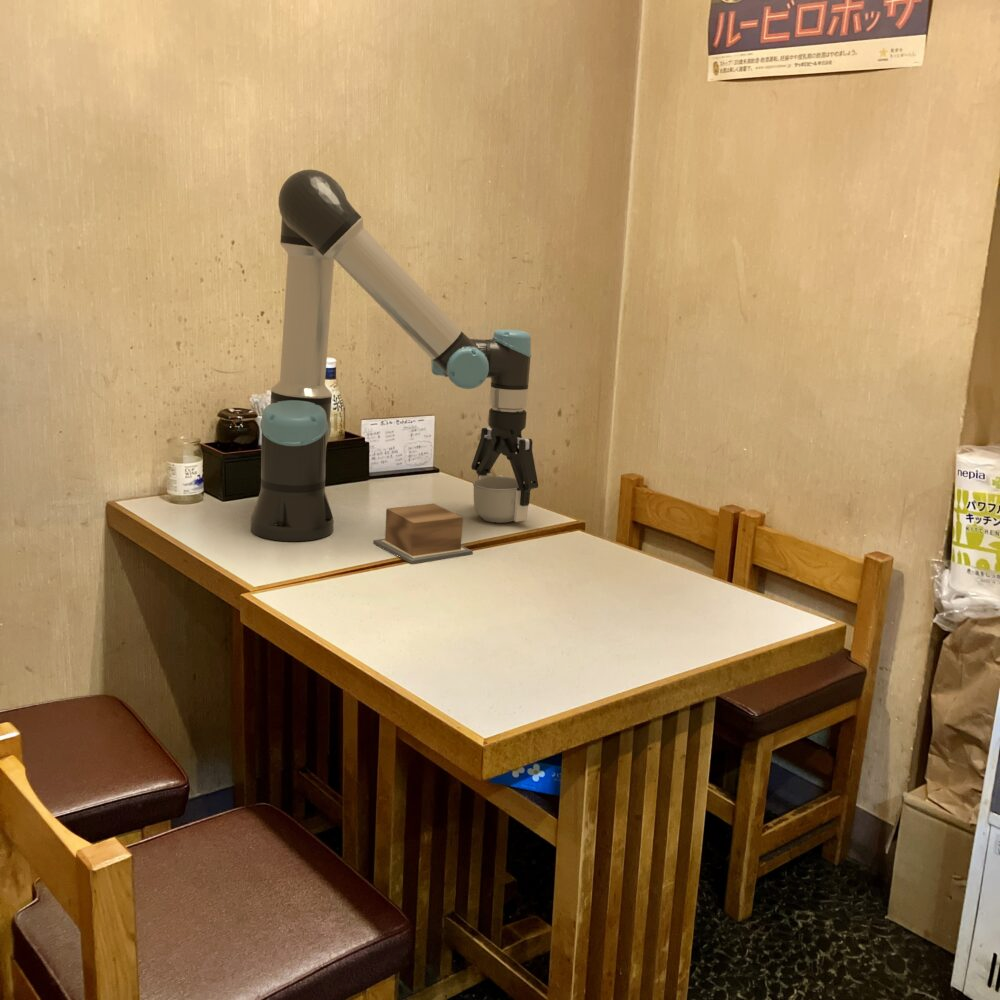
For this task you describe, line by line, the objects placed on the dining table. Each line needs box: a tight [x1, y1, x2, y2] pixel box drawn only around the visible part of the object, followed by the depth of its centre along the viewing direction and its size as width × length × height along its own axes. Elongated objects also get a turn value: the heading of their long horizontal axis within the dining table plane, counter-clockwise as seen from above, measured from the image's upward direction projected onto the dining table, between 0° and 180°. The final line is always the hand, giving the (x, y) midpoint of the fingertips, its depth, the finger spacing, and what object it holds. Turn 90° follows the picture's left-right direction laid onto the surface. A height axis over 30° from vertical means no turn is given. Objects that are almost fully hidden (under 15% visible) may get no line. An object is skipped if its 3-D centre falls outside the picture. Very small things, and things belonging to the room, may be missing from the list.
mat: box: [372, 538, 474, 565], centre depth 181 cm, size 13×13×1 cm
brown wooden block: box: [384, 503, 464, 556], centre depth 180 cm, size 10×10×6 cm
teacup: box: [472, 474, 525, 524], centre depth 204 cm, size 14×11×8 cm
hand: (501, 513), depth 205 cm, fingers closed on teacup, 12 cm apart
